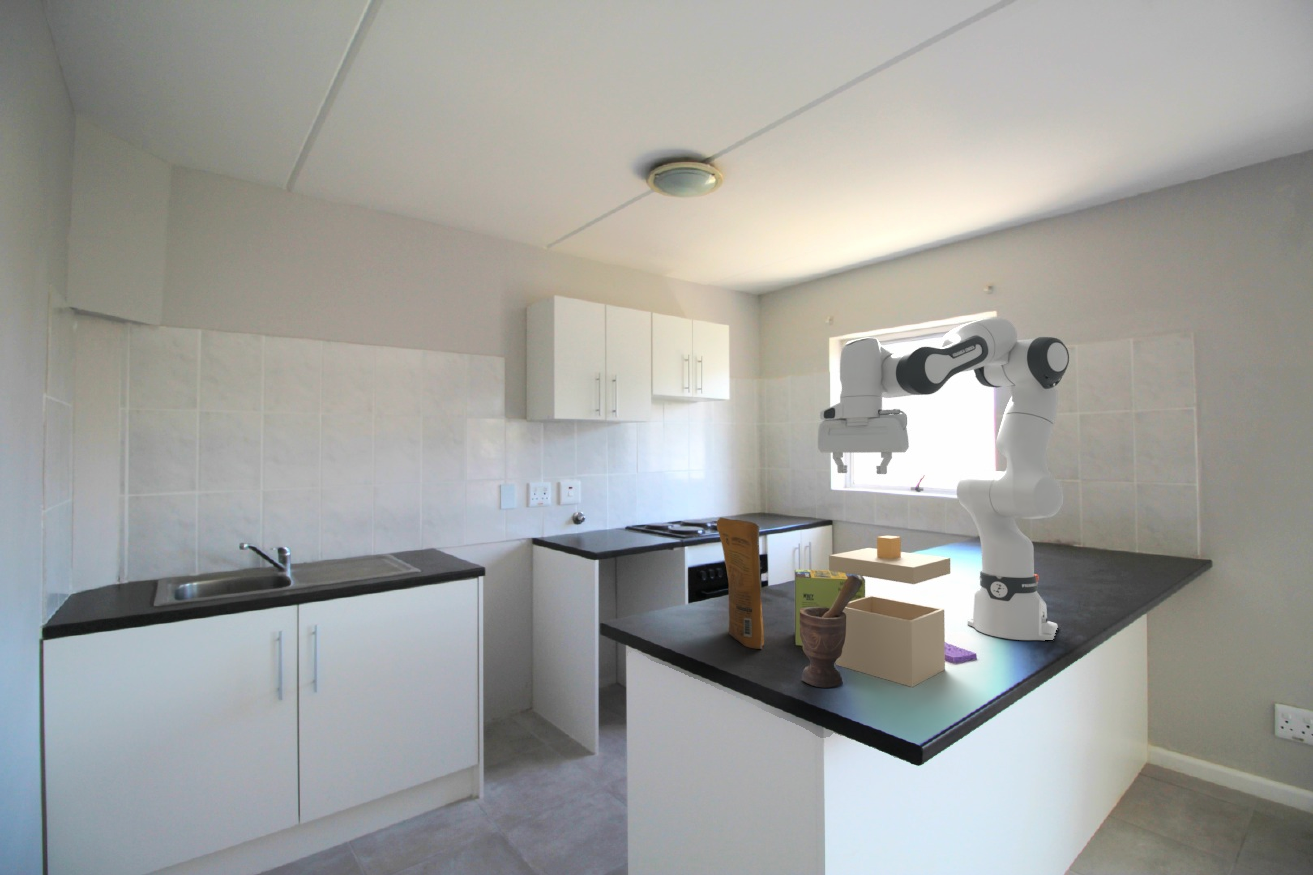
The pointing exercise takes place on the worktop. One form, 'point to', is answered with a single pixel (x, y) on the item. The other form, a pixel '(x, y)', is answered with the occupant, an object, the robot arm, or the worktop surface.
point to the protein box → (819, 591)
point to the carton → (893, 640)
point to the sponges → (958, 654)
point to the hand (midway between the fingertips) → (861, 473)
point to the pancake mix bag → (743, 580)
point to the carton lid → (890, 563)
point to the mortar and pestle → (826, 636)
